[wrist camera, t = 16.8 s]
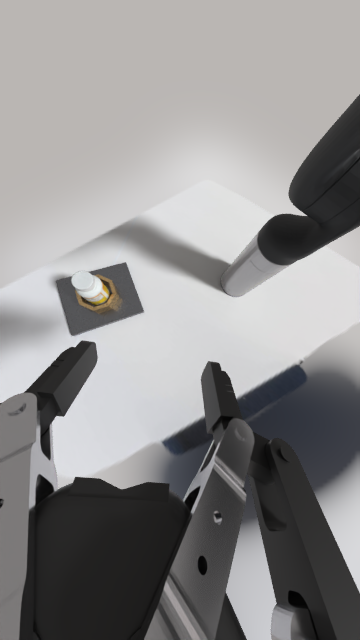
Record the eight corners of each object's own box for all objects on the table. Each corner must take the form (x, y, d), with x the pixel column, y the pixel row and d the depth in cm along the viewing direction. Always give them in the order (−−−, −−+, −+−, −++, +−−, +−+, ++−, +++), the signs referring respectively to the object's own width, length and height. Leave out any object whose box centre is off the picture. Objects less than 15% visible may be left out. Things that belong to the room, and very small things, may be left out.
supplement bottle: (106, 309, 38) (89, 296, 28) (86, 302, 37) (62, 287, 28) (115, 291, 39) (101, 272, 30) (95, 284, 39) (74, 263, 29)
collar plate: (126, 264, 42) (123, 255, 38) (144, 312, 40) (142, 308, 36) (58, 282, 38) (47, 275, 35) (74, 335, 36) (64, 334, 33)
